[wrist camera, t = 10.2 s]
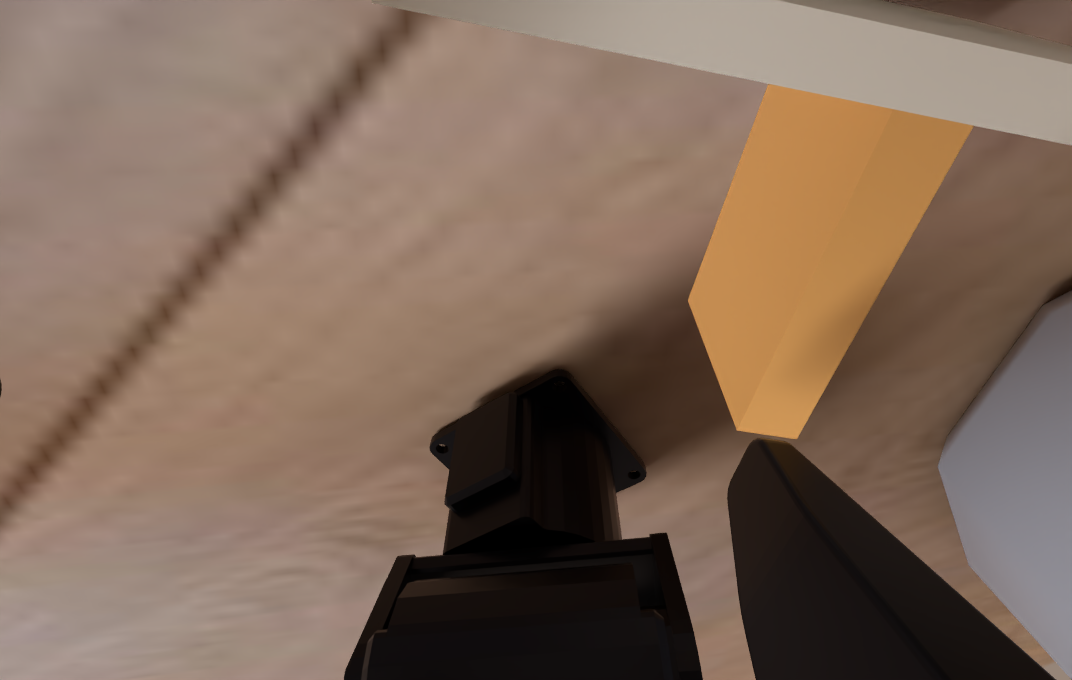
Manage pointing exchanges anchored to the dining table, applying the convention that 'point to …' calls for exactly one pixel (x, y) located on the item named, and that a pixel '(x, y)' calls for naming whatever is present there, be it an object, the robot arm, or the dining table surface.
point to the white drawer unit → (814, 156)
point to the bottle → (1021, 480)
